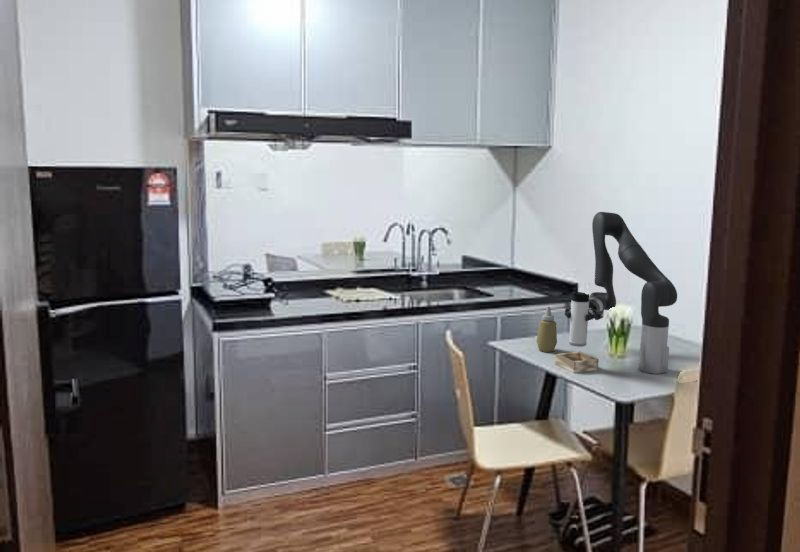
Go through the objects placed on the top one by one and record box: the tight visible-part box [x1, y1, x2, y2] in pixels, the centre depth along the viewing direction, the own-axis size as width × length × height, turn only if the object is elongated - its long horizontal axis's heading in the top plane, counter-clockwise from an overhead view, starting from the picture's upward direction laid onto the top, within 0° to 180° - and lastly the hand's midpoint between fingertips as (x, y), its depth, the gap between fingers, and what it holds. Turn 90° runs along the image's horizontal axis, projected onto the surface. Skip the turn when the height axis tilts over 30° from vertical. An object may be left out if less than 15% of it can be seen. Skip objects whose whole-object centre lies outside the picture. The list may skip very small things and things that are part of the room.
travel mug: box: [568, 291, 590, 348], centre depth 254 cm, size 6×7×20 cm
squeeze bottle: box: [536, 306, 558, 353], centre depth 278 cm, size 8×8×18 cm
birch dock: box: [554, 351, 599, 374], centre depth 256 cm, size 11×11×4 cm
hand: (577, 316), depth 252 cm, fingers closed on travel mug, 6 cm apart
